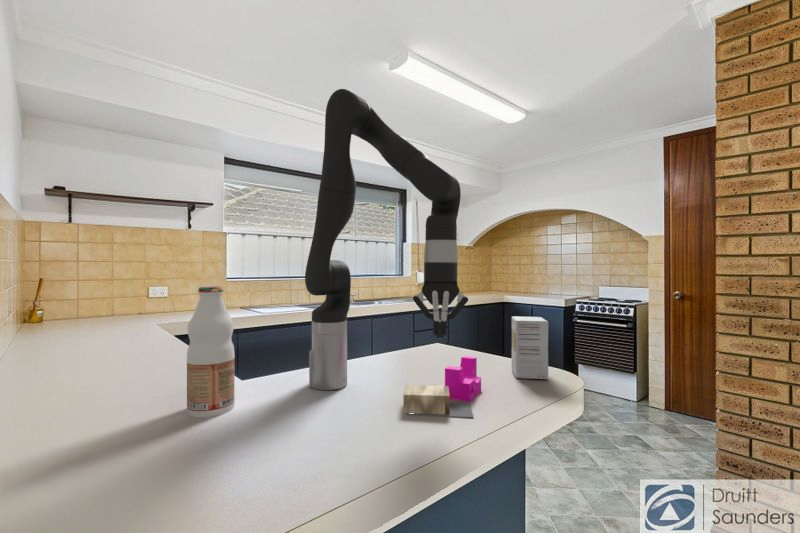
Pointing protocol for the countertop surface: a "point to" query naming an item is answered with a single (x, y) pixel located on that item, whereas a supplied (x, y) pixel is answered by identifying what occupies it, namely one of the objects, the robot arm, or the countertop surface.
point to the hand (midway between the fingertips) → (439, 337)
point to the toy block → (463, 379)
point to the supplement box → (530, 347)
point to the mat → (454, 411)
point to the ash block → (426, 399)
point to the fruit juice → (210, 357)
